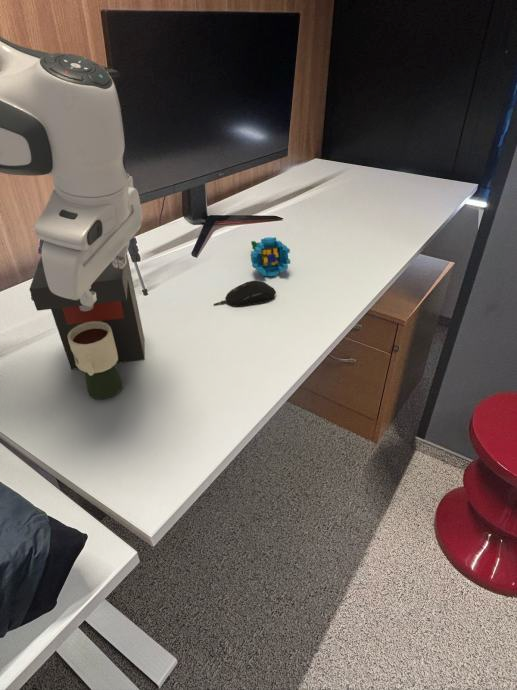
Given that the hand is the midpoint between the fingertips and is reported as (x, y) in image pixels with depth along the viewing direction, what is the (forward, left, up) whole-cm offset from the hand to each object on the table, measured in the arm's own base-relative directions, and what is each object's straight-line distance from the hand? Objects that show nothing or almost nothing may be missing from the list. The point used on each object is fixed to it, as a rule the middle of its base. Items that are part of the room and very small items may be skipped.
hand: (105, 283), depth 72 cm
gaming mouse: (+25, +28, -24) cm, 44 cm away
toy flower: (+33, +44, -24) cm, 60 cm away
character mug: (-5, +3, -24) cm, 24 cm away
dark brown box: (-5, +10, -23) cm, 26 cm away
